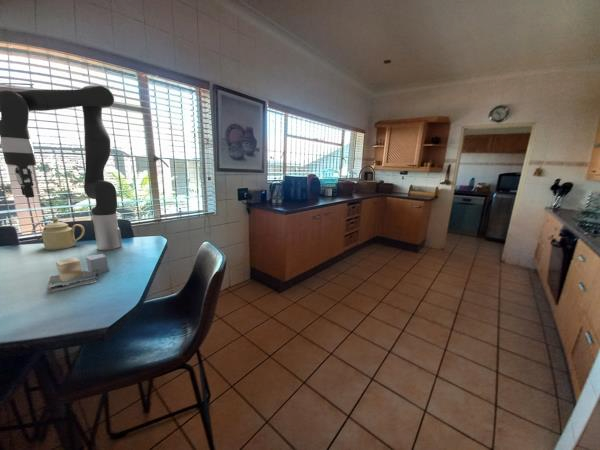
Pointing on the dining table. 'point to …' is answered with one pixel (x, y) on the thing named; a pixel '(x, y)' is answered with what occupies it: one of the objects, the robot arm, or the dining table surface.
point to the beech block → (69, 269)
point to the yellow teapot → (59, 235)
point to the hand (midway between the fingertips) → (28, 196)
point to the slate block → (97, 263)
